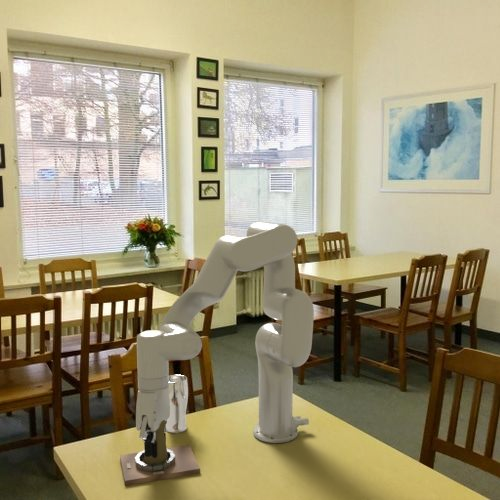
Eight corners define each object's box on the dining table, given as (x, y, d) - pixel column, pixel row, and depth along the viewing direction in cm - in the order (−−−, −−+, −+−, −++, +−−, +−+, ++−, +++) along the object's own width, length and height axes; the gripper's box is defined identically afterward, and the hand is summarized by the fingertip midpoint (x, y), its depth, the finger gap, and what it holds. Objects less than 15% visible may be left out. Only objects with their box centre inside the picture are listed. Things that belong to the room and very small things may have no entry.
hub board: (189, 449, 147) (189, 444, 147) (200, 473, 135) (200, 467, 135) (120, 459, 142) (120, 454, 142) (125, 485, 130) (124, 480, 130)
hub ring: (171, 450, 144) (170, 445, 144) (177, 468, 135) (177, 462, 135) (133, 456, 141) (133, 450, 141) (137, 475, 132) (137, 469, 132)
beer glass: (193, 426, 162) (192, 376, 160) (180, 435, 155) (179, 384, 154) (172, 421, 164) (171, 373, 163) (159, 431, 158) (158, 380, 156)
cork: (173, 460, 138) (172, 418, 137) (152, 469, 134) (151, 425, 133) (159, 451, 142) (158, 411, 141) (139, 460, 138) (137, 418, 137)
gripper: (154, 368, 145) (156, 435, 147) (122, 392, 129) (125, 466, 131) (181, 371, 143) (183, 439, 145) (151, 395, 127) (154, 471, 129)
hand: (155, 451), depth 138 cm, fingers closed on cork, 4 cm apart
